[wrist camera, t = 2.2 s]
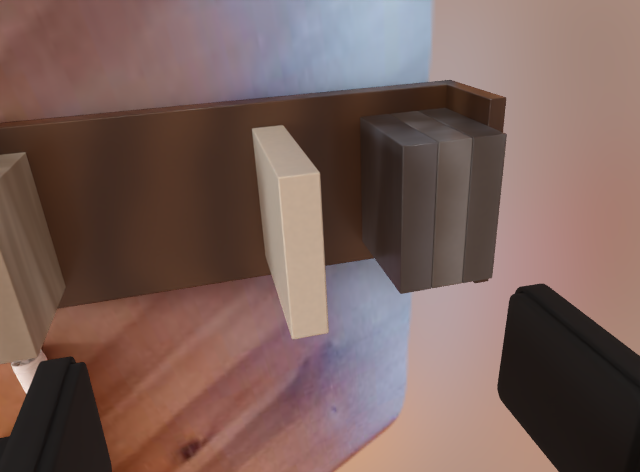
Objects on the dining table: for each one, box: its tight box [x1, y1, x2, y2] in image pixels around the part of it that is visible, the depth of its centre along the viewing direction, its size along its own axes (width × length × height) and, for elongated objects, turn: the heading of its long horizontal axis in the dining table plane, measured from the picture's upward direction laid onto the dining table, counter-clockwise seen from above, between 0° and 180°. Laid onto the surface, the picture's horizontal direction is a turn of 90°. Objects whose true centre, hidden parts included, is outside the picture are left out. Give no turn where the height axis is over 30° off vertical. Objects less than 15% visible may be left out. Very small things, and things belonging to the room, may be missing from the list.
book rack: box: [0, 80, 507, 364], centre depth 31 cm, size 32×12×9 cm, turn 93°
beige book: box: [252, 125, 329, 339], centre depth 30 cm, size 2×9×10 cm, turn 3°
